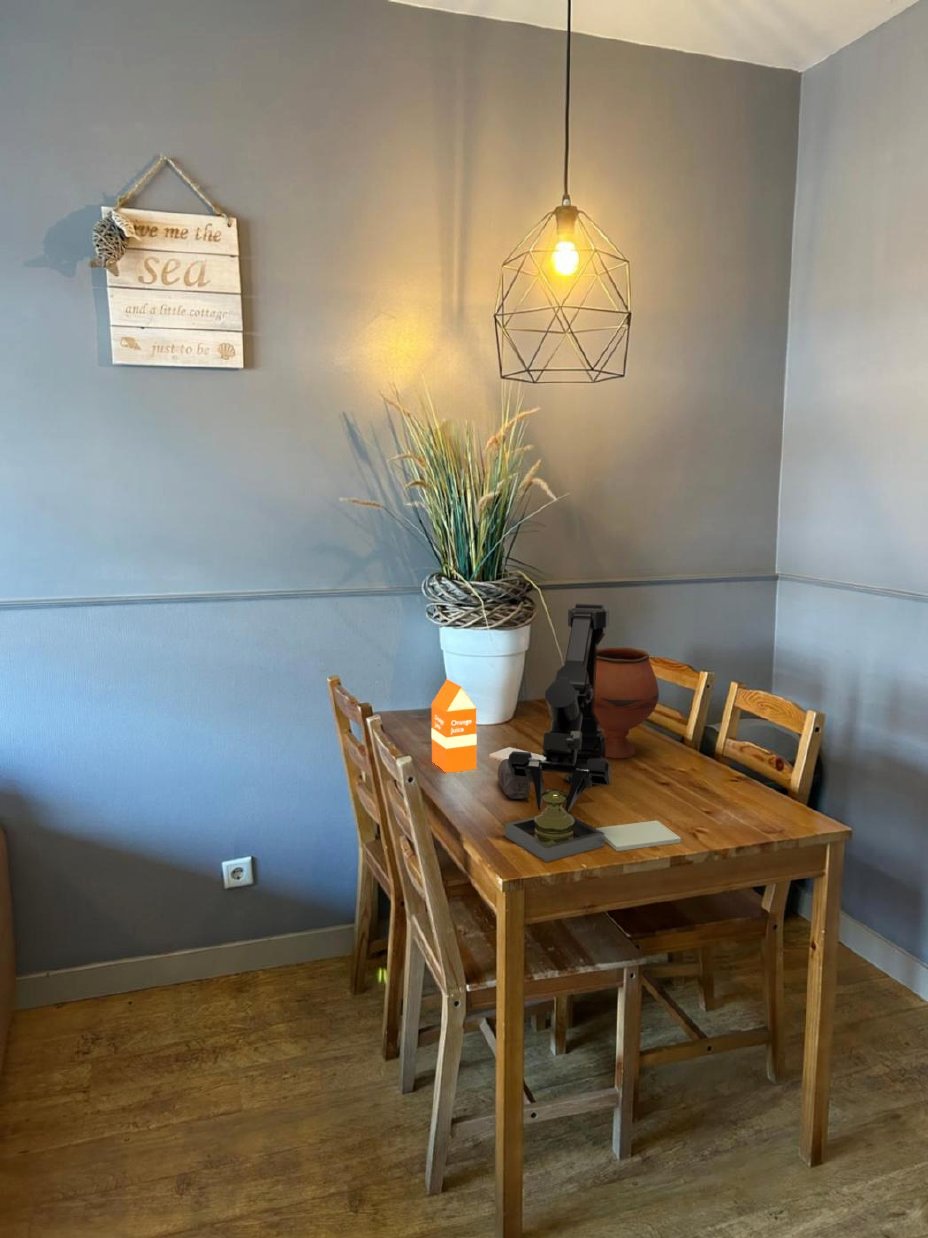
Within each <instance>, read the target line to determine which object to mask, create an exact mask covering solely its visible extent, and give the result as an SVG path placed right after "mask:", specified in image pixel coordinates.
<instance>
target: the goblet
mask: <svg viewBox="0 0 928 1238" xmlns="http://www.w3.org/2000/svg"><path fill="white" fill-rule="evenodd" d="M652 666H653V665H652V664H651V661H650V655H649V654H648V653H647V652H646V651H643V650H640V649H636V648H631V647H608V648H607V647H606V648H600V649H598V648H597V665H596V682H595V700H594V713H595V715H596V716H597V718H598V720H599V722H600V729H603V730H604V733H603V735H605V736H606V737H607V739H605V745H606V756H605V757H606V758H607V757H608V758H613V759H626V758H630V757H633V756H634V755H635V754H636V750H635V748H634V747H633V745H632V744H631V742H630V741H629V740H628V739H627V736H628V735H629V733H630V732H629V731H630V730H632V729H634V728H636V727H637V726H639V725H641V724H642V723H643V722H644V721H646V720H647V719H648V718H649V717H650V715H652V713H653V712H654V711H655V710H656V707H657V705H658V702H659V696H660V695H659V694H660V691H659V687H658V682H657V681H658V680H657V677H656V674H655V672H654V669H653V667H652Z"/></svg>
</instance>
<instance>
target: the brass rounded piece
mask: <svg viewBox="0 0 928 1238" xmlns="http://www.w3.org/2000/svg"><path fill="white" fill-rule="evenodd" d="M568 795H569V793H567V792H565V791H563V790H560V789H559V788H556V787H555V788H554V787H553V788H550V789H547V790H545V791H543V793H542V794H541V798H542V801H544V802H545V803H546V807H545V808H544V809H542V811H541V812H539V813H538V814H536V815H535V816H534V817H535V818H534V824H535V826H536V827H535V829H534V832H533V833H534V836H533V837H534V838H536V839H538V840H539V841H541V842H543V843H544V844H546V845H551V844H555V843H559V842H563V841H567V840H570V839H574V838H575V834H574V830H573V827H574V818H575V817H574V816H572V815H571V814H570V813H569V812H568V813H567V812H566V809H565V808H563V804H564V803H565V802H567V799H568ZM573 817H574V818H573Z"/></svg>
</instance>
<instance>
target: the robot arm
mask: <svg viewBox="0 0 928 1238" xmlns="http://www.w3.org/2000/svg"><path fill="white" fill-rule="evenodd" d="M567 611H568V612H567V627H570V628H571V629H570V635H569V638H568V644H567V650H566V657H565V661H564V664H563V666H562V667H560V668H559V669H558V670H557V671H556V675H555V680H554V681H552V682H551V684H550V685H549V687H548V688H547V689H546V690H545V693H544V695H545V696H544V697H545V701H546V705H547V709H548V713H549V716H550V718H551V724H550V729H549V732H543V738H542V749H541V750H542V756H544V757H546V759H545V761H542V760H539V759H534V758H532V755H531V753H532V752H531V753H529V752H530V751H527V752H518V751H513V752H512V753H511V754H510V755H509V759H508V765H509V768H510V771H511V773H512V775H513V776H515V777H524V778H528V781H530V783H533V787H534V792H535V793H534V794H535V799H536V805H537V809H538V810H542V805H543V799H542V798H541V794H542V793H543V792H544V785H545V780H544V776H543V772H549V773H558V774H568V776H563V777H562V779H563V781H566V782H568V783H569V784H570V786H569V791H568V799H567V800H566V805H565V811H566V812H567V813H568V814H569V812H570V811H571V809H572V807H573V806H574V804H575V803H576V802H577V800H578V798H579V797H580V795H581V794H583V792H584V791H585V790H586V789H587V788H589V789H590V788H592V786H594V785H596V786H597V785H598V786H609V785H611V778H612V771H611V766H610V761H608V759H606V758H605V757H606V745H605V741H606V738H605V737H604V733H603V731H602V730H601V727H600V722H599V720H598V718H597V716H596V715H595V713H594V700H595V682H596V665H597V650H598V646H599V644H600V643H601V641H602V640H603V639H604V637H605V635H606V632H607V631H606V630H607V627H609V626H610V625H609V624H610V610H609V609H605V605H604V604H593V603H592V604H587V603H586V604H585V603H584V604H583V603H576V604H575V607H574V608H569V609H568V610H567Z"/></svg>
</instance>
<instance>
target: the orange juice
mask: <svg viewBox="0 0 928 1238" xmlns="http://www.w3.org/2000/svg"><path fill="white" fill-rule="evenodd" d="M430 704H431V763H432V762H433V763H435V765H437V766H439V767H440V768H441V769H442V770H443V771H444V772H446V773H447V772H457V773H461V772H460V771H464V772H467V771H466V770H471V771H473V770H472V769H476V770H477V707H476V706H475V705H474V703H473V702H472V700H471V698H470V697H469V695H468V694H467V693H466V692H465V690H464V688H463V687H462V686H461V685H459V684H457V683H455V682H453V681H452V680H449V679H447V678H446V679H445V682H444V683H443V684H442V686H441V688H440V689H439V691H438V693H437V694H436V696H435V698H434V699H433V700H432V702H431V703H430ZM433 763H432V764H433ZM435 765H434V766H435ZM437 766H436V767H437ZM442 770H441V771H442ZM443 771H442V772H443ZM458 771H459V772H458ZM444 772H443V773H444ZM446 773H445V774H446Z"/></svg>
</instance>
